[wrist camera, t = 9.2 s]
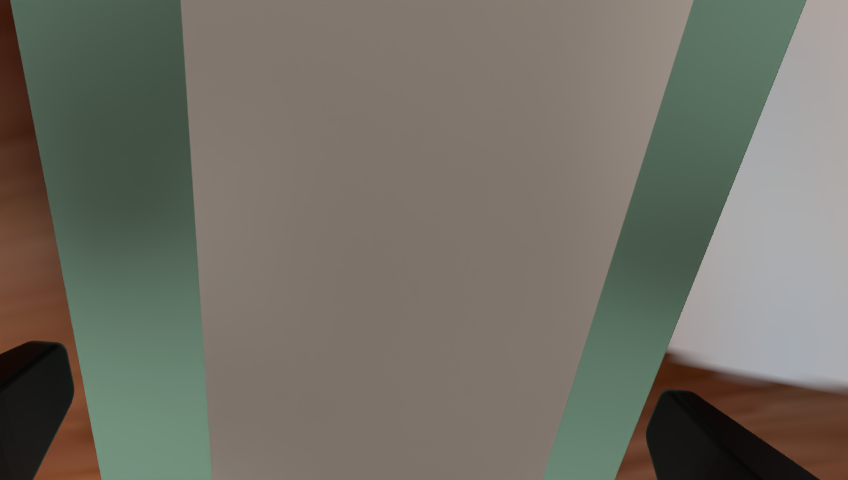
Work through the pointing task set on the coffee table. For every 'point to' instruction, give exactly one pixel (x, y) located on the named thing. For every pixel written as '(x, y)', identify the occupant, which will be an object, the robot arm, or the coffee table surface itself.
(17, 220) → the coffee table surface
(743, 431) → the robot arm
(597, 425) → the board
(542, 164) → the grey rectangular block
